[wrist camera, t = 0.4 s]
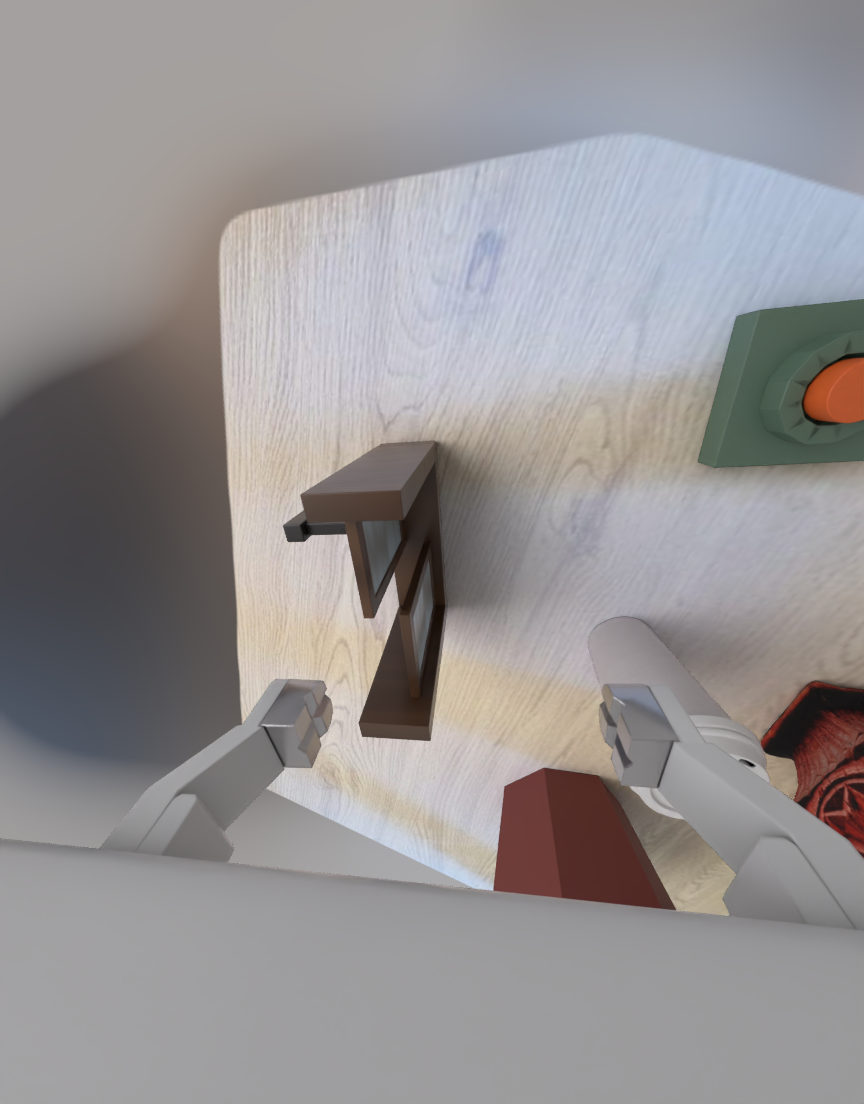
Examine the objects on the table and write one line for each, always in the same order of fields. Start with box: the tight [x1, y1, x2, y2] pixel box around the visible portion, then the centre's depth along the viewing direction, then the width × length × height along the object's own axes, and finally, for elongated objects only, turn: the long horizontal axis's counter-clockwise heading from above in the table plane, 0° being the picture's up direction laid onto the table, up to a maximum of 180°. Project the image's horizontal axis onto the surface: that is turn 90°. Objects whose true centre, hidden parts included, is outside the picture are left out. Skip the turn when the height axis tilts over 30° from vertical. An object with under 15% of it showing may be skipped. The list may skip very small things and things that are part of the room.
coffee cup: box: [588, 617, 770, 820], centre depth 30 cm, size 10×10×15 cm
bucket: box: [493, 768, 676, 910], centre depth 39 cm, size 24×22×25 cm
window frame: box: [300, 441, 447, 741], centre depth 27 cm, size 18×5×16 cm, turn 4°
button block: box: [698, 299, 864, 468], centre depth 23 cm, size 10×10×4 cm
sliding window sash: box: [283, 510, 406, 618], centre depth 26 cm, size 8×5×11 cm
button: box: [803, 358, 864, 423], centre depth 21 cm, size 4×4×2 cm
